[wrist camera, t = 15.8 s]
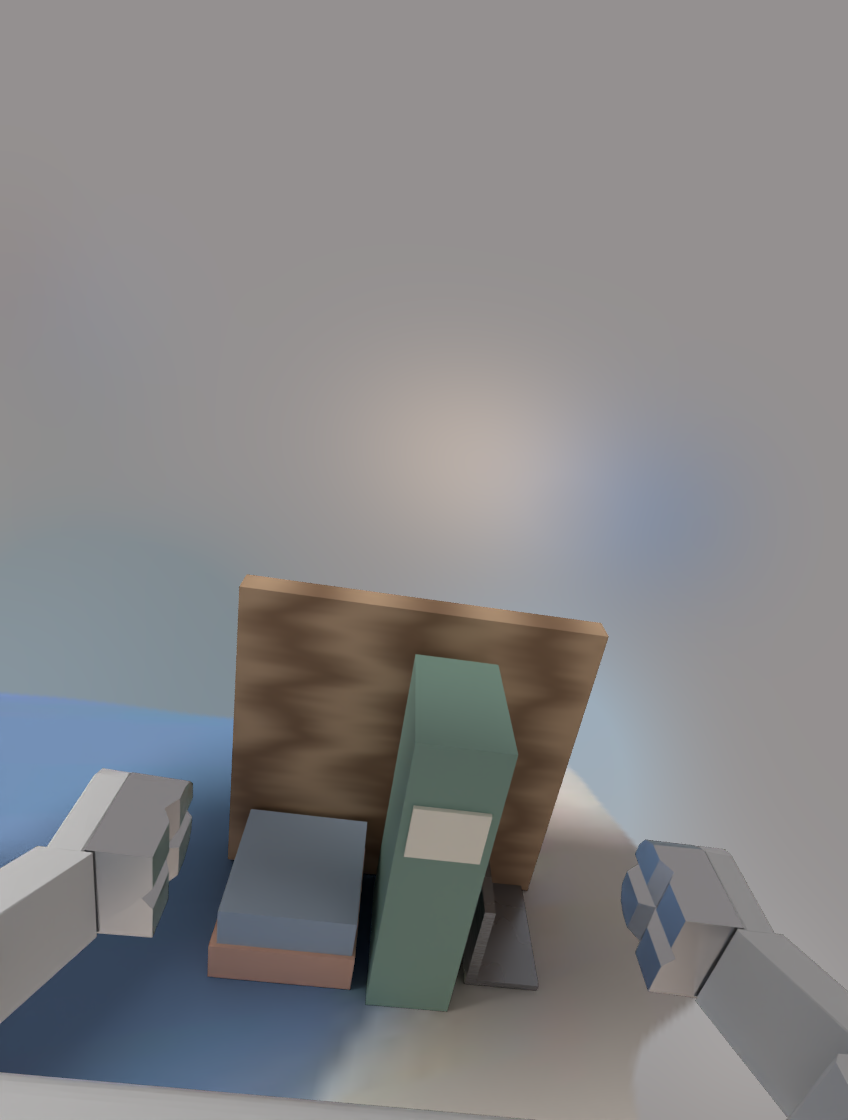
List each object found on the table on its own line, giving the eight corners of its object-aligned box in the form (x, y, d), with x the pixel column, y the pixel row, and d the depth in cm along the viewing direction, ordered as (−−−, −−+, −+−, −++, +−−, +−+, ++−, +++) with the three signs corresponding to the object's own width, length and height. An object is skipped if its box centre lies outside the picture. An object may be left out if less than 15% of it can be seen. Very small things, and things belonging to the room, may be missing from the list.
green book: (365, 1008, 33) (415, 745, 26) (373, 889, 40) (415, 654, 33) (447, 1015, 33) (519, 758, 26) (442, 896, 40) (498, 664, 33)
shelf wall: (227, 858, 40) (239, 586, 32) (234, 840, 41) (246, 574, 33) (527, 890, 41) (608, 636, 34) (523, 871, 43) (601, 623, 35)
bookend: (464, 983, 35) (484, 912, 33) (457, 883, 41) (474, 816, 39) (536, 990, 35) (562, 920, 33) (519, 889, 41) (540, 824, 39)
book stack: (207, 976, 33) (209, 913, 31) (242, 863, 40) (245, 805, 38) (349, 989, 34) (360, 929, 32) (361, 875, 40) (370, 819, 38)
